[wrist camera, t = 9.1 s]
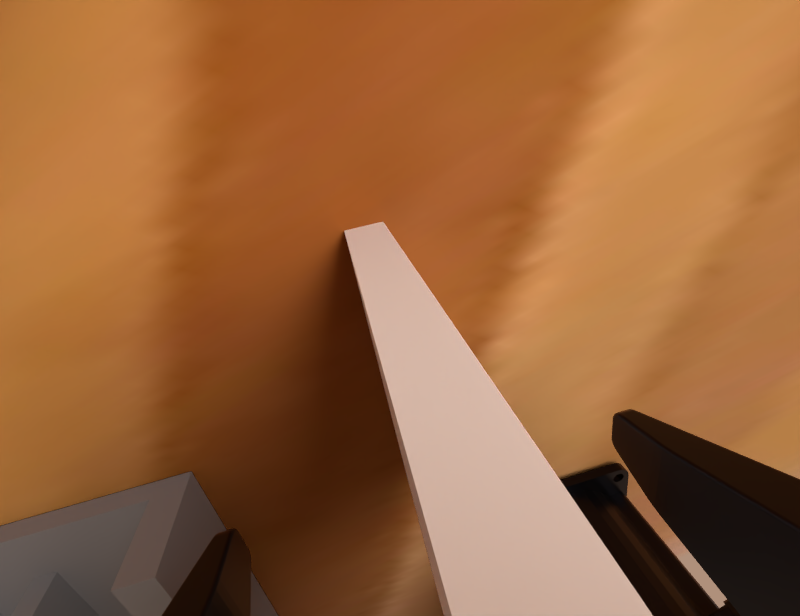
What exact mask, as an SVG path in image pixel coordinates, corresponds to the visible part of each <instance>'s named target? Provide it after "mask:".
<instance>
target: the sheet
mask: <svg viewBox="0 0 800 616" xmlns="http://www.w3.org/2000/svg"><path fill="white" fill-rule="evenodd" d="M344 232H345V236H346V240H347V244H348V248H349V252H350V256H351V260H352V264H353V268H354V272H355V276H356V279H357V283H358V287H359V291H360V295H361V299H362V303H363V307H364V311H365V315H366V319H367V323H368V326H369V330H370V334H371V338H372V342H373V346H374V350H375V354H376V358H377V362H378V366H379V370H380V374H381V377H382V381H383V385H384V389H385V393H386V397H387V401H388V405H389V409H390V413H391V417H392V421H393V424H394V428H395V432H396V436H397V440H398V444H399V448H400V452H401V456H402V459H403V463H404V467H405V471H406V475H407V478H408V482H409V486H410V490H411V494H412V497H413V501H414V505H415V509H416V513H417V516H418V520H419V524H420V528H421V531H422V535H423V539H424V543H425V547H426V550H427V554H428V558H429V562H430V566H431V569H432V573H433V577H434V581H435V585H436V588H437V592H438V596H439V600H440V604H441V607H442V611H443V615H444V616H653V615H652V613H651V612H650V610H649V609H648V608H647V606H646V605H645V603H644V602H643V600H642V599H641V597H640V596H639V594H638V593H637V592H636V590H635V589H634V587H633V586H632V584H631V583H630V581H629V580H628V578H627V577H626V575H625V574H624V573H623V571H622V570H621V568H620V567H619V565H618V564H617V562H616V561H615V559H614V558H613V556H612V555H611V554H610V552H609V551H608V549H607V548H606V546H605V545H604V543H603V542H602V540H601V539H600V538H599V536H598V535H597V533H596V532H595V530H594V529H593V527H592V526H591V524H590V523H589V521H588V520H587V519H586V517H585V516H584V514H583V513H582V511H581V510H580V508H579V507H578V505H577V504H576V502H575V501H574V500H573V498H572V497H571V495H570V494H569V492H568V491H567V489H566V488H565V486H564V485H563V484H562V482H561V481H560V479H559V478H558V476H557V475H556V473H555V472H554V470H553V469H552V467H551V466H550V465H549V463H548V462H547V460H546V459H545V457H544V456H543V454H542V453H541V451H540V450H539V449H538V447H537V446H536V444H535V443H534V441H533V440H532V438H531V437H530V435H529V434H528V432H527V431H526V430H525V428H524V427H523V425H522V424H521V422H520V421H519V419H518V418H517V416H516V415H515V413H514V412H513V411H512V409H511V408H510V406H509V405H508V403H507V402H506V400H505V399H504V397H503V396H502V395H501V393H500V392H499V390H498V389H497V387H496V386H495V384H494V383H493V381H492V380H491V378H490V377H489V376H488V374H487V373H486V371H485V370H484V368H483V367H482V365H481V364H480V362H479V361H478V360H477V358H476V357H475V355H474V354H473V352H472V351H471V349H470V348H469V346H468V345H467V343H466V342H465V341H464V339H463V338H462V336H461V335H460V333H459V332H458V330H457V329H456V327H455V326H454V324H453V323H452V322H451V320H450V319H449V317H448V316H447V314H446V313H445V311H444V310H443V308H442V307H441V306H440V304H439V303H438V301H437V300H436V298H435V297H434V295H433V294H432V292H431V291H430V289H429V288H428V287H427V285H426V284H425V282H424V281H423V279H422V278H421V276H420V275H419V273H418V272H417V270H416V269H415V268H414V266H413V265H412V263H411V262H410V260H409V259H408V257H407V256H406V254H405V253H404V252H403V250H402V249H401V247H400V246H399V244H398V243H397V241H396V240H395V238H394V237H393V235H392V234H391V233H390V231H389V230H388V228H387V227H386V225H385V224H384V222H380V223H375V224H371V225H367V226H363V227H359V228H354V229H350V230H346V231H344Z"/></svg>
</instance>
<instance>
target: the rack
mask: <svg viewBox="0 0 800 616" xmlns="http://www.w3.org/2000/svg"><path fill="white" fill-rule="evenodd" d="M223 531H226V528H225V526H224V525H223V523H222V521H221V520H220V518H219V516H218V515H217V513H216V511H215V510H214V508H213V506H212V505H211V503H210V501H209V500H208V498H207V496H206V495H205V493H204V491H203V490H202V488H201V486H200V485H199V483H198V481H197V480H196V478H195V476H194V475H193V473H192V472H187V473H184V474H180V475H177V476H173V477H170V478H166V479H163V480H159V481H156V482H152V483H149V484H145V485H142V486H138V487H135V488H131V489H128V490H124V491H121V492H117V493H114V494H110V495H107V496H104V497H100V498H97V499H93V500H90V501H86V502H83V503H79V504H76V505H72V506H69V507H65V508H62V509H58V510H55V511H51V512H48V513H44V514H41V515H37V516H34V517H30V518H27V519H23V520H20V521H16V522H13V523H9V524H6V525H2V526H0V616H161V615H162V614H163V612H164V611H165V609H166V608H167V606H168V605H169V603H170V602H171V600H172V599H173V597H174V596H175V594H176V593H177V591H178V590H179V588H180V587H181V585H182V584H183V582H184V581H185V579H186V577H187V576H188V574H189V573H190V571H191V570H192V568H193V567H194V565H195V564H196V562H197V561H198V559H199V558H200V556H201V555H202V553H203V552H204V550H205V549H206V547H207V546H208V544H209V543H210V541H211V540H212V538H213V537H214V536H215V535H216V534H217V533H219V532H223ZM251 616H278V615H277V613H276V611H275V610H274V608H273V606H272V605H271V603H270V601H269V600H268V598H267V596H266V595H265V593H264V591H263V590H262V588H261V586H260V585H259V583H258V581H257V580H256V578H255V576H254V575H253V573H252V571H251Z"/></svg>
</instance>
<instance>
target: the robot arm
mask: <svg viewBox="0 0 800 616" xmlns="http://www.w3.org/2000/svg"><path fill="white" fill-rule="evenodd" d="M612 442H613V445H614V447H615V449H616V451H617V452H618V454H619V455H620V457H621V458H622V460H623V461H624V463H625V464H626V466H627V467H628V469H629V470H630V472H631V473H632V475H633V476H634V478H635V479H636V481H637V483H638V484H639V486H640V487H641V489H642V490H643V492H644V493H645V495H646V496H647V498H648V499H649V501H650V502H651V503H652V505H653V506H654V508H655V509H656V510H657V512H658V513H659V514H660V516H661V517H662V518H663V519H664V521H665V522H666V523H667V524H668V526H669V527H670V528H671V529H672V531H673V532H674V533H675V534H676V536H677V537H678V538H679V539H680V541H681V542H682V543H683V544H684V546H685V547H686V548H687V549H688V551H689V552H690V553H691V554H692V556H693V557H694V558H695V559H696V561H697V562H698V563H699V564H700V565H701V567H702V568H703V569H704V571H705V572H706V573H707V574H708V575H709V577H710V578H711V579H712V580H713V582H714V583H715V584H716V585H717V587H718V588H719V589H720V591H721V592H722V593H723V594H724V595H725V596H726V598H727V600H725V601H724V603H725V605H724V606H723V607H721V608H718V606H717V605H716V604H715V603H714V601H713V600H712V599H711V598H710V597H709V595H708V594H707V593H706V592H705V591H704V590H703V588H702V587H701V586H700V585H699V583H698V582H697V581H696V580H695V579H694V577H693V576H692V575H691V574H690V573H689V572H688V570H687V569H686V568H685V567H684V566H683V564H682V563H681V562H680V561H679V559H678V558H677V557H676V556H675V555H674V553H673V552H672V551H671V550H670V549H669V547H668V546H667V545H666V544H665V543H664V541H663V540H662V539H661V538H660V537H659V535H658V534H657V533H656V532H655V531H654V529H653V528H652V527H651V526H650V525H649V523H648V522H647V521H646V520H645V519H644V517H643V516H642V515H641V514H640V513H639V511H638V510H637V509H636V508H635V507H634V505H633V504H632V503H631V502H630V500H629V499H628V498H627V497H626V496H627V485H628V472H627V470H626V469H625V468H624V467H623V466H622V465H621V464H619V463H614V464H611V465H607V466H604V467H601V468H598V469H595V470H592V471H588V472H585V473H582V474H579V475H576V476H572V477H569V478H566V479H563V480H560V481H561V482H562V484H563V485H564V486H565V488H566V489H567V491H568V492H569V494H570V495H571V497H572V498H573V500H574V501H575V502H576V504H577V505H578V507H579V508H580V510H581V511H582V513H583V514H584V516H585V517H586V519H587V520H588V521H589V523H590V524H591V526H592V527H593V529H594V530H595V532H596V533H597V535H598V536H599V538H600V539H601V540H602V542H603V543H604V545H605V546H606V548H607V549H608V551H609V552H610V554H611V555H612V556H613V558H614V559H615V561H616V562H617V564H618V565H619V567H620V568H621V570H622V571H623V573H624V574H625V575H626V577H627V578H628V580H629V581H630V583H631V584H632V586H633V587H634V589H635V590H636V592H637V593H638V594H639V596H640V597H641V599H642V600H643V602H644V603H645V605H646V606H647V608H648V609H649V610H650V612H651V613H652V615H653V616H800V479H798V478H795V477H793V476H790V475H788V474H786V473H783V472H781V471H779V470H776V469H774V468H771V467H769V466H767V465H764V464H762V463H759V462H757V461H755V460H752V459H750V458H748V457H745V456H743V455H740V454H738V453H736V452H733V451H731V450H728V449H726V448H724V447H721V446H719V445H716V444H714V443H712V442H709V441H707V440H705V439H702V438H700V437H697V436H695V435H693V434H690V433H688V432H685V431H683V430H681V429H678V428H676V427H673V426H671V425H669V424H666V423H664V422H662V421H659V420H657V419H654V418H652V417H650V416H647V415H645V414H642V413H640V412H638V411H635V410H632V409H628V410H625V411H621V412H618V413H616V414H615V415H614V416H613V425H612ZM161 616H251V556H250V552H249V549H248V548H247V546H246V544H245V542H244V541H243V539H242V537H241V535H240V534H239V532H238V531H237V530H236V529H229V530H226V531H223V532H219V533H217V534H216V535H215V536H214V537H213V538H212V540H211V541H210V543H209V544H208V546H207V547H206V549H205V550H204V552H203V553H202V555H201V556H200V558H199V559H198V561H197V562H196V564H195V565H194V567H193V568H192V570H191V571H190V573H189V574H188V576H187V577H186V579H185V581H184V582H183V584H182V585H181V587H180V588H179V590H178V591H177V593H176V594H175V596H174V597H173V599H172V600H171V602H170V603H169V605H168V606H167V608H166V609H165V611H164V612H163V614H162V615H161Z"/></svg>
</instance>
